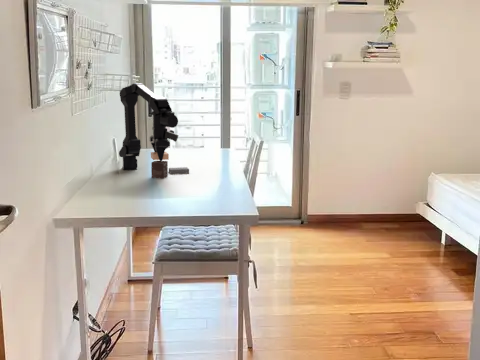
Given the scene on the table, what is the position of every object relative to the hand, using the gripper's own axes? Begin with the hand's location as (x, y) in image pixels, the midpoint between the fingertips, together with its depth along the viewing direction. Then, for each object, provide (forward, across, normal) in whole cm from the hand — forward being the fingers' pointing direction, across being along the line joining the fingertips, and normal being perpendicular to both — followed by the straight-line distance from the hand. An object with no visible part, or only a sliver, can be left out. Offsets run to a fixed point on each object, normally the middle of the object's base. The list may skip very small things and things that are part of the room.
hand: (159, 159), depth 249 cm
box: (+9, 0, 0) cm, 9 cm away
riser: (+8, +9, -11) cm, 16 cm away
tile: (0, 0, 0) cm, 0 cm away
